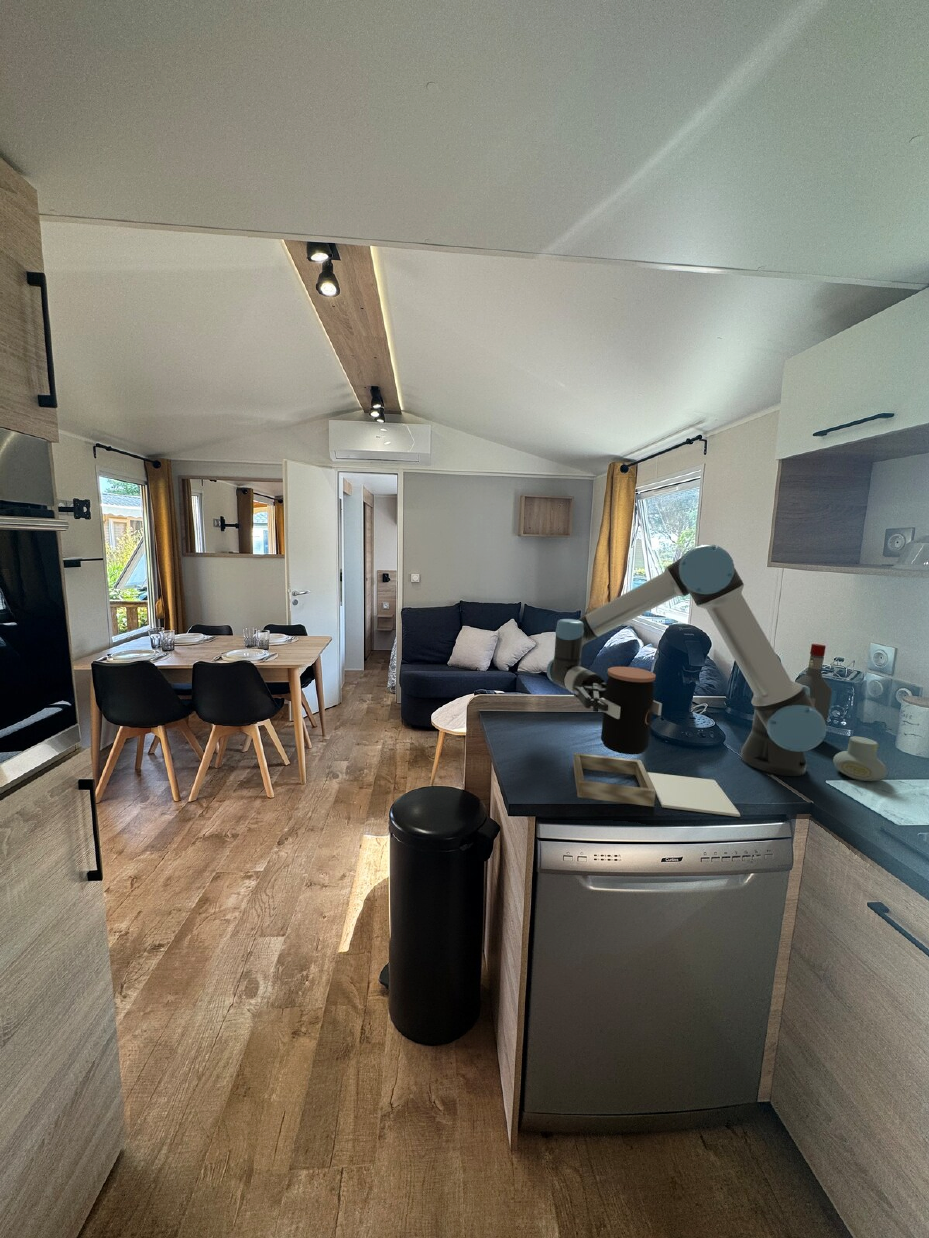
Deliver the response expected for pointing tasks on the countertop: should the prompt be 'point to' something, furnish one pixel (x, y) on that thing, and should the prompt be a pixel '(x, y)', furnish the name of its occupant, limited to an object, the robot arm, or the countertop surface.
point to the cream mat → (691, 794)
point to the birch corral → (613, 791)
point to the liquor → (817, 682)
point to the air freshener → (860, 760)
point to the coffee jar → (628, 710)
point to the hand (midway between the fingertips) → (639, 711)
